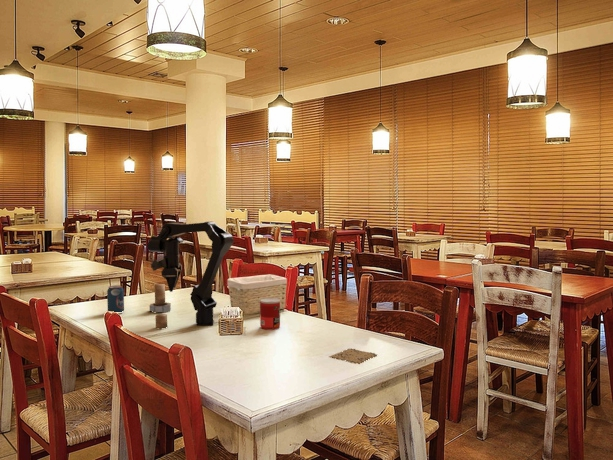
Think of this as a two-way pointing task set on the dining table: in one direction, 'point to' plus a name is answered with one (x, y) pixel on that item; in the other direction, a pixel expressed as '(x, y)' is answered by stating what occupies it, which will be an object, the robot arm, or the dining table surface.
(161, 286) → the tall walnut peg
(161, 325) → the short walnut peg
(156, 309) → the steel ring socket
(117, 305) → the soda can
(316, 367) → the dining table surface
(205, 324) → the robot arm
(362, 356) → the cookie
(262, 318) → the canned food
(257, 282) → the storage basket
